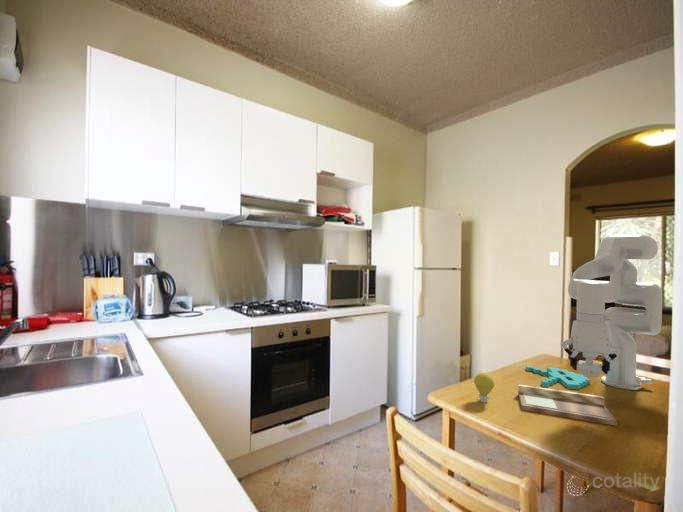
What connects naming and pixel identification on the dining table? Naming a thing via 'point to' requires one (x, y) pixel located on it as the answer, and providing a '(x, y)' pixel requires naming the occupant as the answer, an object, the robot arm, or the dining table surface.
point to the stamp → (589, 365)
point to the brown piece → (569, 404)
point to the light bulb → (484, 385)
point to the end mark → (539, 400)
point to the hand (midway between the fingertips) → (589, 370)
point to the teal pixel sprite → (561, 377)
